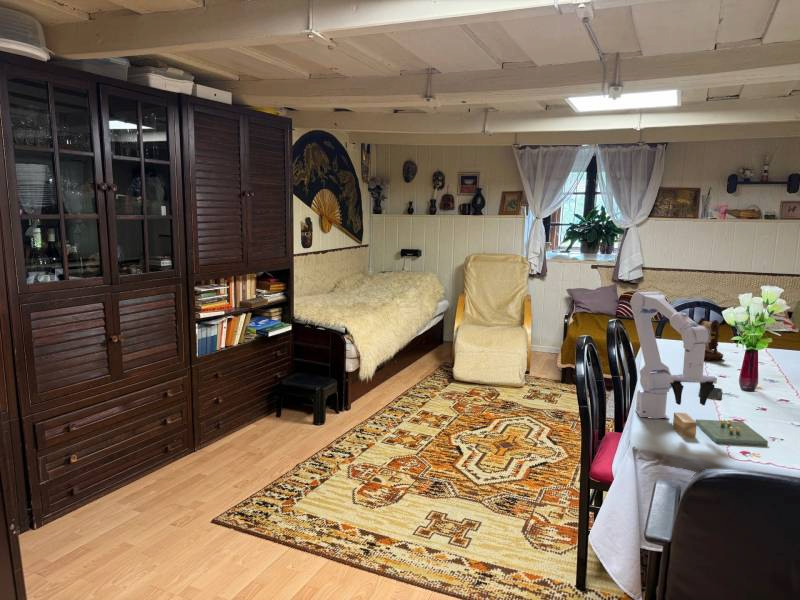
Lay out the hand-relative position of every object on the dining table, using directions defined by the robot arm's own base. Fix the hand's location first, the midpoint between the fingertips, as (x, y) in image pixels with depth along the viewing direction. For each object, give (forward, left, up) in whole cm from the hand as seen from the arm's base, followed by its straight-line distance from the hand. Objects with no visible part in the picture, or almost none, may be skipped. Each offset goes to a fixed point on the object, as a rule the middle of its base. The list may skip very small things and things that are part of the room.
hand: (690, 404), depth 186 cm
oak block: (-1, 0, -10) cm, 10 cm away
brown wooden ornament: (+45, +107, -10) cm, 117 cm away
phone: (+24, +45, -10) cm, 52 cm away
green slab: (+13, 0, -10) cm, 16 cm away
